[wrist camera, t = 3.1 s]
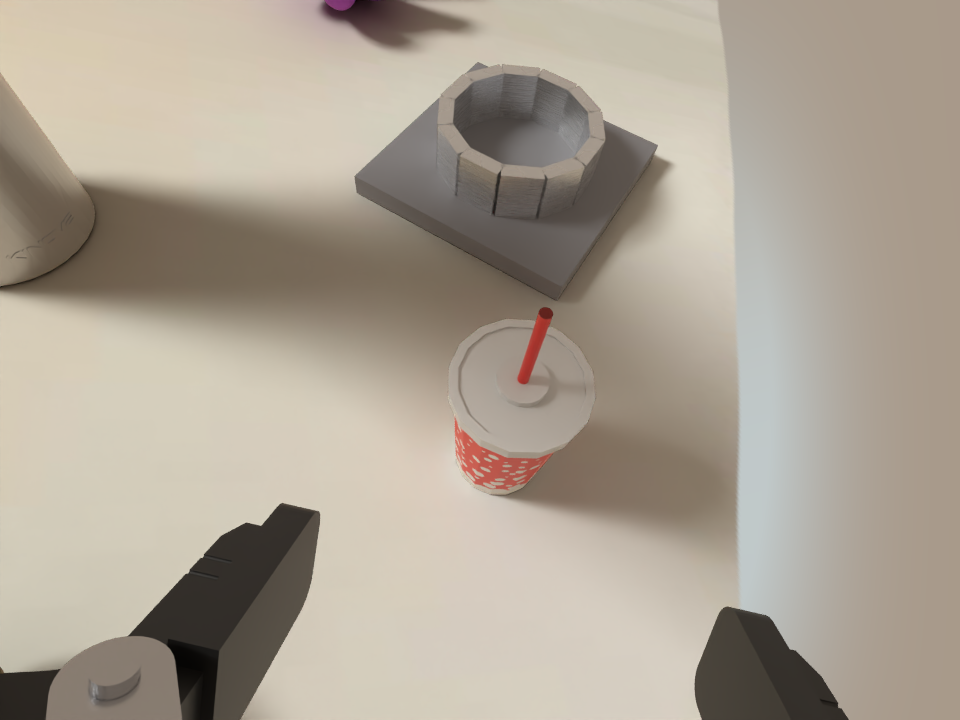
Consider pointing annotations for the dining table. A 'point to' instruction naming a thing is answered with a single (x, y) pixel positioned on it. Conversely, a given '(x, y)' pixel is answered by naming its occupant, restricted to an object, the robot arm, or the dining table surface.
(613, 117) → the dining table surface
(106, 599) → the dining table surface
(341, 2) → the purple tube coral
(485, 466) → the beverage cup
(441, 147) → the collar
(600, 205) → the flange board
